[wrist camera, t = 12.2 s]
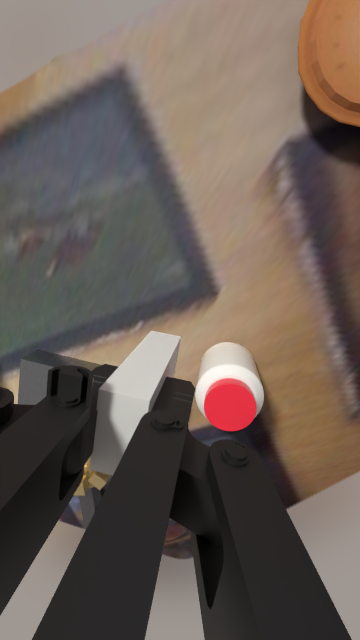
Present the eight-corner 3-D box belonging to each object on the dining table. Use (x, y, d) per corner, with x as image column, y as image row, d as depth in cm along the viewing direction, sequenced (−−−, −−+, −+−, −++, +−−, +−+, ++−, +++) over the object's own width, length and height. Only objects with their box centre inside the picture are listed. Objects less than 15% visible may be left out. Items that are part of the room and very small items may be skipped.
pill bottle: (239, 402, 43) (245, 452, 32) (190, 379, 43) (181, 420, 33) (266, 357, 41) (282, 394, 30) (215, 332, 41) (213, 360, 31)
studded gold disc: (48, 410, 42) (30, 427, 38) (116, 409, 41) (104, 427, 37) (67, 511, 46) (53, 537, 42) (131, 514, 45) (122, 540, 41)
